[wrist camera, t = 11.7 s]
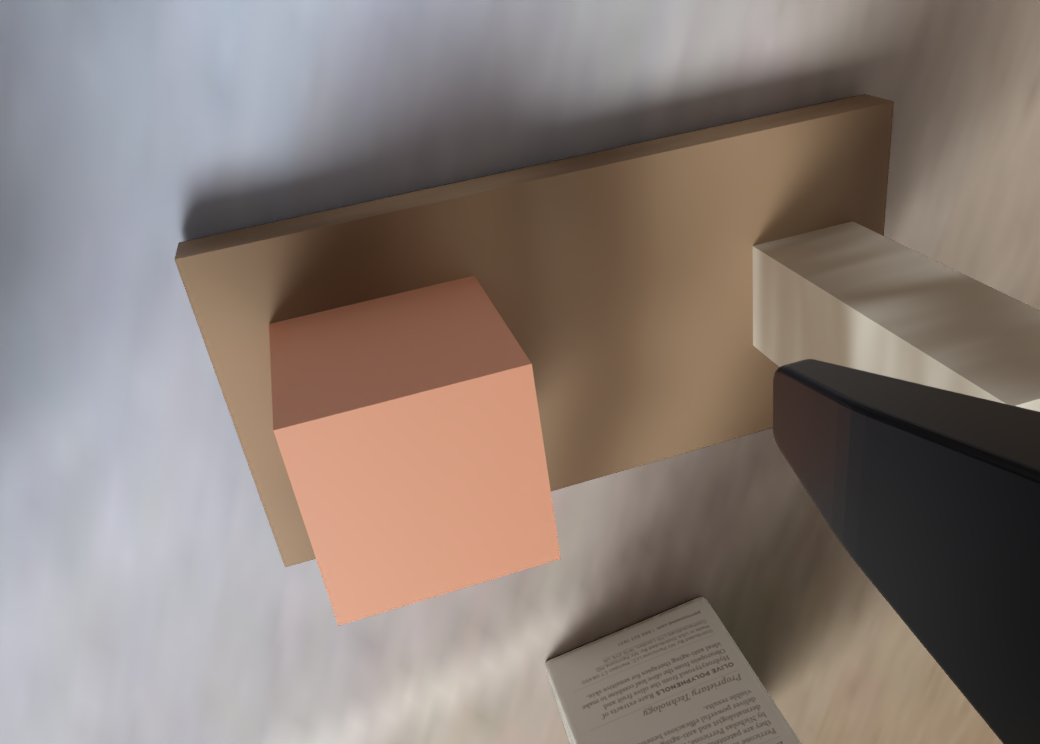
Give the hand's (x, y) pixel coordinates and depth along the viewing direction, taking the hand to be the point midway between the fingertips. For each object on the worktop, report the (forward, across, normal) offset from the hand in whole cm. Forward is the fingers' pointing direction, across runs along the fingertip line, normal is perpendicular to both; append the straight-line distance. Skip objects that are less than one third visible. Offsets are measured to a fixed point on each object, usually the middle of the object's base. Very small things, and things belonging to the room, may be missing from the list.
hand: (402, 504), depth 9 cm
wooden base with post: (+13, -6, +5) cm, 15 cm away
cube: (+12, -1, +5) cm, 13 cm away
